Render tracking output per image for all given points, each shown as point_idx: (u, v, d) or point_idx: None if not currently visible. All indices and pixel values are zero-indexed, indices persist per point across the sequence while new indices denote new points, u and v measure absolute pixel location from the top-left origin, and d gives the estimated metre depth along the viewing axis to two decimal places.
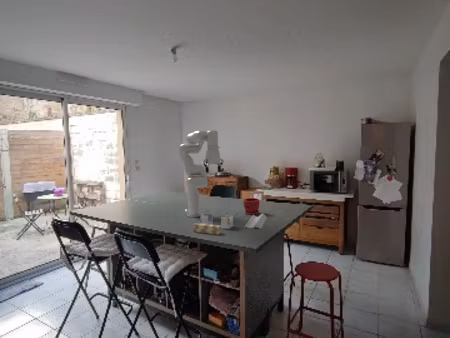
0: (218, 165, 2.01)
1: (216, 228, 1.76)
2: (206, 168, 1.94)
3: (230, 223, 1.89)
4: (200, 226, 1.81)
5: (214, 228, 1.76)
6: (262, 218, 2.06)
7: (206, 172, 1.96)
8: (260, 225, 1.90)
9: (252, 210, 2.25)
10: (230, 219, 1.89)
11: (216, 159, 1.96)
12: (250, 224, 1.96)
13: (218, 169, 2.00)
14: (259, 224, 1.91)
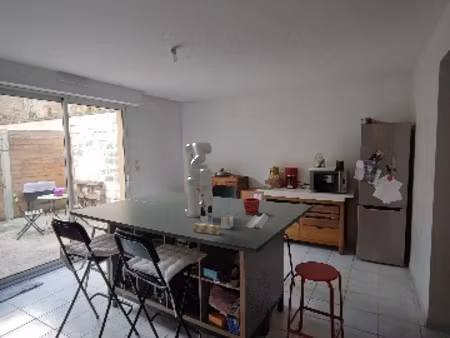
0: None
1: (216, 228, 1.76)
2: None
3: (230, 223, 1.89)
4: (200, 226, 1.81)
5: (214, 228, 1.76)
6: (263, 218, 2.06)
7: (211, 212, 1.84)
8: (260, 225, 1.90)
9: (252, 210, 2.25)
10: (230, 219, 1.89)
11: None
12: (251, 224, 1.96)
13: None
14: (259, 224, 1.91)
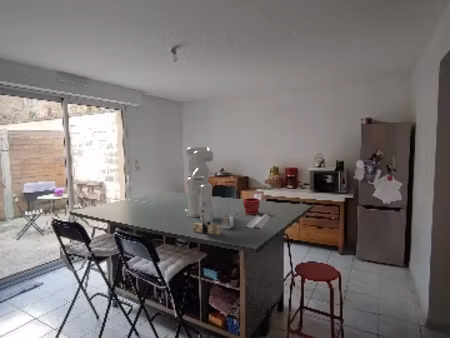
0: None
1: (216, 228, 1.76)
2: None
3: (230, 223, 1.89)
4: (200, 226, 1.80)
5: (214, 228, 1.76)
6: (264, 218, 2.06)
7: None
8: (260, 225, 1.90)
9: (252, 210, 2.25)
10: (230, 219, 1.89)
11: None
12: (251, 224, 1.96)
13: None
14: (260, 224, 1.91)
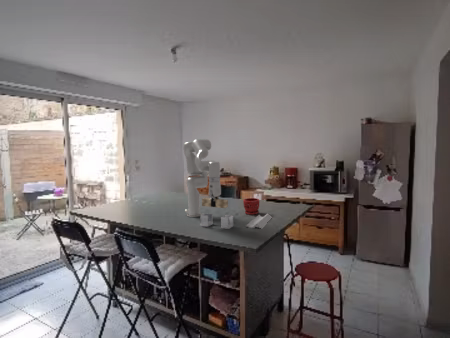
0: (213, 199, 1.89)
1: (223, 202, 1.87)
2: None
3: (230, 223, 1.89)
4: (208, 200, 1.92)
5: (222, 202, 1.87)
6: (266, 218, 2.06)
7: None
8: (261, 225, 1.90)
9: (252, 210, 2.25)
10: (230, 219, 1.89)
11: None
12: (252, 224, 1.97)
13: None
14: (260, 224, 1.91)
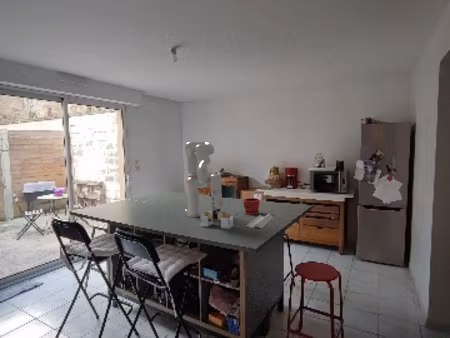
0: None
1: (225, 214, 1.89)
2: None
3: (230, 223, 1.89)
4: (210, 213, 1.94)
5: (224, 214, 1.90)
6: (266, 218, 2.05)
7: None
8: (261, 225, 1.90)
9: (252, 210, 2.25)
10: (230, 219, 1.89)
11: None
12: (252, 224, 1.97)
13: None
14: (260, 224, 1.91)
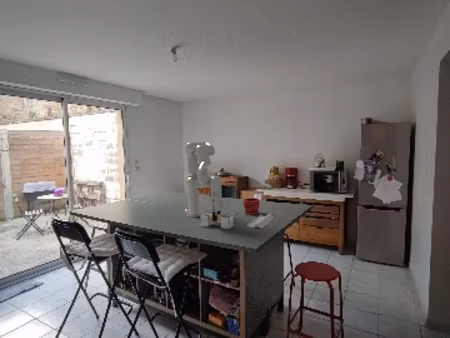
0: None
1: None
2: (218, 213, 1.98)
3: (230, 223, 1.89)
4: (210, 216, 1.94)
5: None
6: (267, 218, 2.05)
7: None
8: (261, 225, 1.90)
9: (252, 210, 2.25)
10: (230, 219, 1.89)
11: None
12: (253, 224, 1.97)
13: None
14: (261, 224, 1.91)
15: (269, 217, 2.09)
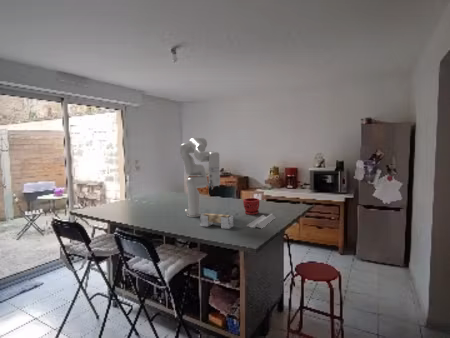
0: None
1: None
2: None
3: (230, 223, 1.89)
4: (210, 216, 1.94)
5: None
6: (268, 218, 2.05)
7: None
8: (262, 225, 1.90)
9: (252, 210, 2.25)
10: (230, 219, 1.89)
11: None
12: (254, 223, 1.97)
13: None
14: (261, 224, 1.91)
15: (270, 217, 2.09)
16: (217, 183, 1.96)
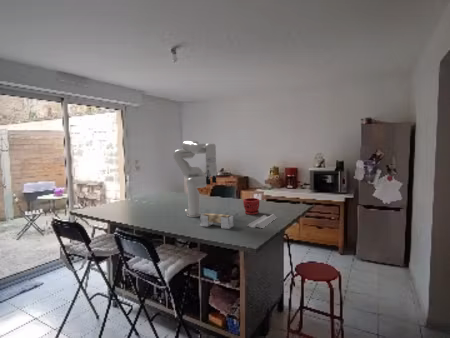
0: None
1: None
2: None
3: (230, 223, 1.89)
4: (210, 216, 1.94)
5: None
6: (269, 218, 2.05)
7: (215, 182, 2.11)
8: (262, 225, 1.90)
9: (252, 210, 2.25)
10: (230, 219, 1.89)
11: None
12: (254, 223, 1.97)
13: None
14: (261, 224, 1.91)
15: (272, 217, 2.08)
16: (214, 173, 2.05)
